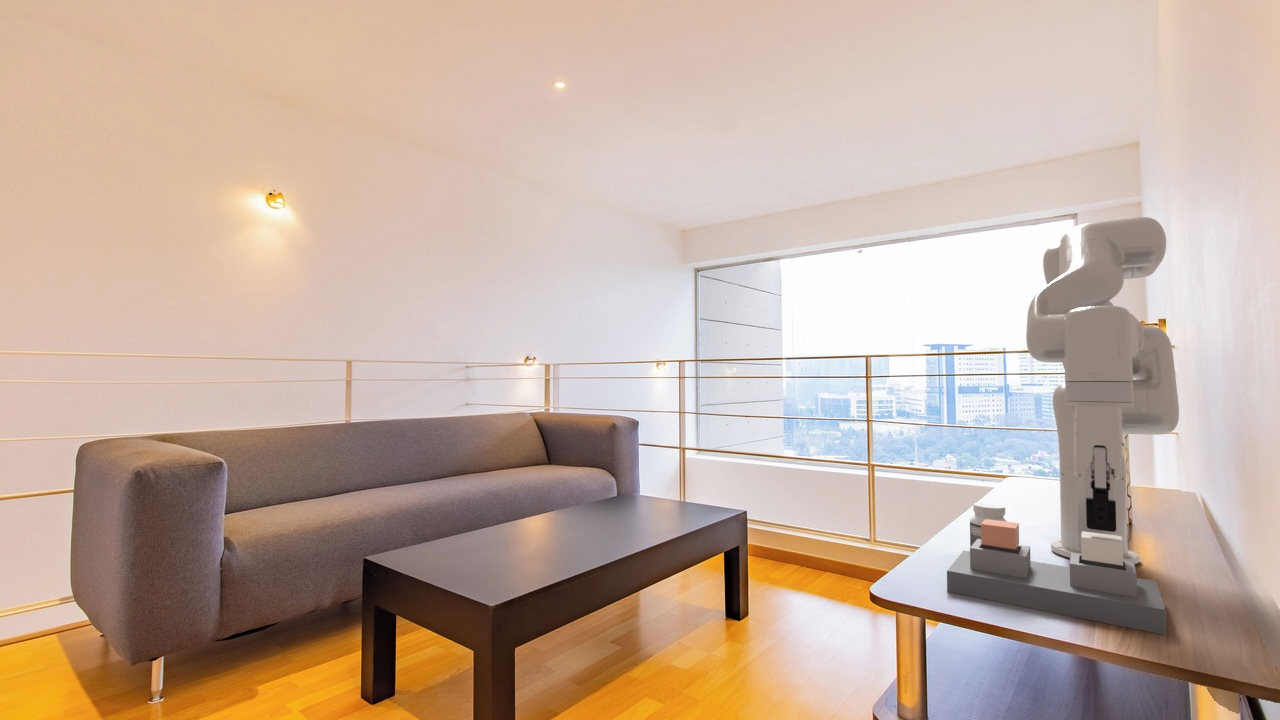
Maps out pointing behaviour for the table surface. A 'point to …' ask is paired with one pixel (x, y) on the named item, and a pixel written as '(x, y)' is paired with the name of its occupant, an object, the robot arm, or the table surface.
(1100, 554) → the pale key
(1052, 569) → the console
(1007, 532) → the terracotta key
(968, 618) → the table surface
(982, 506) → the pill bottle
